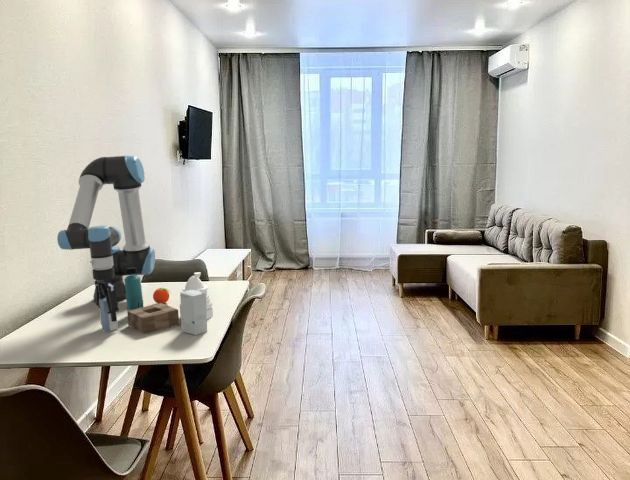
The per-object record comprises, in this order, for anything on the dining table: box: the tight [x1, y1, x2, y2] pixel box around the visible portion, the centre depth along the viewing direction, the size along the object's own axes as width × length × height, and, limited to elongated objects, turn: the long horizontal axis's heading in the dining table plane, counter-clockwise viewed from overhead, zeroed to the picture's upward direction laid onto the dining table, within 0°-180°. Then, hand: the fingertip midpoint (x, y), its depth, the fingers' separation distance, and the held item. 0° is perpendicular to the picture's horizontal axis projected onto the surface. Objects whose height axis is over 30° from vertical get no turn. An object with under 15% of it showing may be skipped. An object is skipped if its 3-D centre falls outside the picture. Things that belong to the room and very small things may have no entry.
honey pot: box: [179, 271, 214, 320], centre depth 224 cm, size 13×13×18 cm
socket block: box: [126, 303, 180, 335], centre depth 216 cm, size 14×14×6 cm
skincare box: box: [179, 290, 208, 336], centre depth 205 cm, size 8×6×15 cm
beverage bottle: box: [123, 267, 145, 312], centre depth 228 cm, size 6×7×20 cm
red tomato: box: [152, 287, 171, 304], centre depth 246 cm, size 8×7×7 cm
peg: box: [99, 298, 118, 333], centre depth 212 cm, size 4×4×12 cm
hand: (109, 326), depth 213 cm, fingers open, 8 cm apart
